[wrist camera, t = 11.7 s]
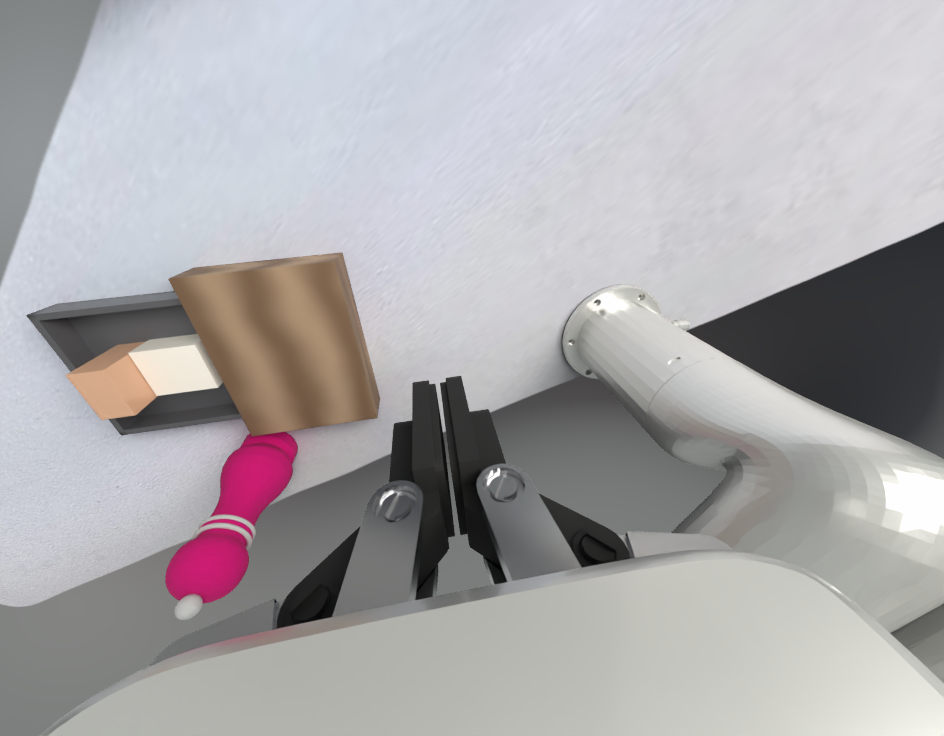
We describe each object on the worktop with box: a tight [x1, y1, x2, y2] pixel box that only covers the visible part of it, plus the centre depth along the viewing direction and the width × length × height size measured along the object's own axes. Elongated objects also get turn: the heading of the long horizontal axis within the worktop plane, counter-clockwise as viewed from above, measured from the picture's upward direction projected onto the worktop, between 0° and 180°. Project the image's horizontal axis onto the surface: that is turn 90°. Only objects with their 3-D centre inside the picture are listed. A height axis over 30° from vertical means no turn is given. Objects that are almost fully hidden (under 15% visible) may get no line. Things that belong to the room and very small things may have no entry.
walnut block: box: [168, 253, 380, 436], centre depth 36 cm, size 14×18×4 cm
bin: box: [26, 291, 242, 435], centre depth 35 cm, size 13×14×3 cm
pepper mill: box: [165, 432, 297, 620], centre depth 36 cm, size 7×7×20 cm
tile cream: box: [128, 334, 223, 396], centre depth 35 cm, size 6×5×3 cm
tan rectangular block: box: [66, 342, 157, 420], centre depth 33 cm, size 6×5×3 cm
